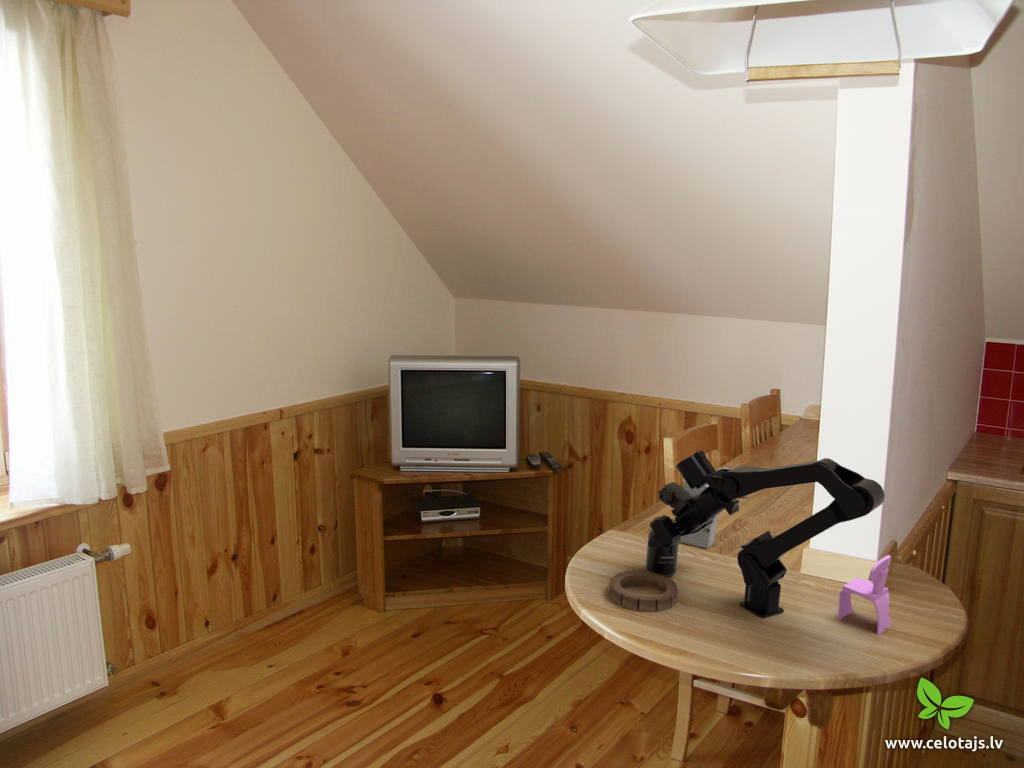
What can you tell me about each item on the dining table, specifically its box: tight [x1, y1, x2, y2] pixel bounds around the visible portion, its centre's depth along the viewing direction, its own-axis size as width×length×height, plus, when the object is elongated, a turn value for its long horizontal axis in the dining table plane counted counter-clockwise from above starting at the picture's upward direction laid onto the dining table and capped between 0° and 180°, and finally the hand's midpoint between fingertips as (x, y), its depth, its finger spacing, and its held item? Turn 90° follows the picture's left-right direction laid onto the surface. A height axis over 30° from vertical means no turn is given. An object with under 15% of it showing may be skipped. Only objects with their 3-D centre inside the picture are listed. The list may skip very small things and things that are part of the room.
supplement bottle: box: [645, 516, 679, 577], centre depth 184 cm, size 7×7×12 cm
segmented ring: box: [608, 570, 679, 613], centre depth 174 cm, size 14×14×2 cm
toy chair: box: [837, 554, 893, 636], centre depth 164 cm, size 8×9×15 cm
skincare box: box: [679, 480, 719, 549], centre depth 203 cm, size 8×7×16 cm
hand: (657, 541), depth 185 cm, fingers closed on supplement bottle, 7 cm apart
